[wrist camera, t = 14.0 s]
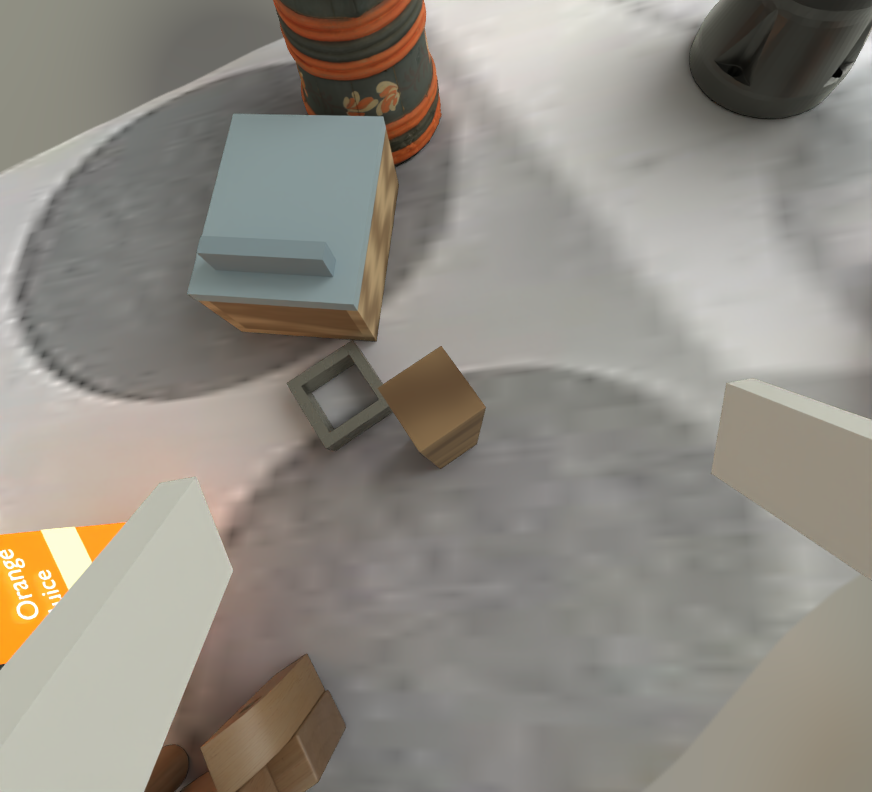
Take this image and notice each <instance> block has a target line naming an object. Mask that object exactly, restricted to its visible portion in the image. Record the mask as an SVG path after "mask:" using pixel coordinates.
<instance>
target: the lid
mask: <svg viewBox="0 0 872 792" xmlns="http://www.w3.org/2000/svg"><path fill="white" fill-rule="evenodd" d="M385 131H386V126H385V122H384V117H383V116H331V115H278V114H233V117H232V121H231V125H230V129H229V133H228V137H227V141H226V144H225V148H224V152H223V156H222V160H221V164H220V168H219V171H218V175H217V179H216V183H215V187H214V191H213V195H212V199H211V202H210V206H209V210H208V214H207V218H206V222H205V226H204V230H203V233H202V236H201V237H200V241H199V244H198V248H197V252H196V253H197V257H196V261H195V264H194V268H193V272H192V276H191V280H190V284H189V288H188V292H187V294H188V295H189V296H191V297H192V298H194V299H195V300H197V301H212V302H228V303H243V304H258V305H274V306H289V307H304V308H320V309H335V310H350V311H358V304H359V298H360V292H361V285H362V279H363V272H364V266H365V260H366V253H367V247H368V240H369V234H370V228H371V221H372V215H373V208H374V202H375V195H376V189H377V183H378V176H379V170H380V163H381V157H382V151H383V144H384V138H385Z"/></svg>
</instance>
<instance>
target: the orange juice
mask: <svg viewBox="0 0 872 792" xmlns="http://www.w3.org/2000/svg"><path fill="white" fill-rule="evenodd" d="M124 524H125V523H116V524H105V525H95V526H85V527H67V528H57V529H47V530H41V531H34V532H24V533H14V534H4V535H0V664H5V663H7V662H8V660H9V659H10V658H11V657H12V656H13V655H14V653H15V652H16V651H17V650H18V649H19V648H20V646H21V645H22V644H23V643H24V642H25V641H26V639H27V638H28V637H29V636H30V635H31V634H32V632H33V631H34V630H35V629H36V628H37V626H38V625H39V624H40V623H41V622H42V621H43V619H44V618H45V617H46V616H47V615H48V614H49V612H50V611H51V610H52V609H53V608H54V607H55V605H56V604H57V603H58V602H59V601H60V599H61V598H62V597H63V596H64V595H65V594H66V592H67V591H68V590H69V589H70V588H71V587H72V585H73V584H74V583H75V582H76V581H77V580H78V578H79V577H80V576H81V575H82V574H83V572H84V571H85V570H86V569H87V568H88V567H89V565H90V564H91V563H92V562H93V561H94V560H95V558H96V557H97V556H98V555H99V554H100V553H101V551H102V550H103V549H104V548H105V547H106V546H107V544H108V543H109V542H110V541H111V540H112V538H113V537H114V536H115V535H116V534H117V533H118V531H119V530H120V529H121V528H122V527H123V526H124Z"/></svg>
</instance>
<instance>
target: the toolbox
mask: <svg viewBox="0 0 872 792" xmlns="http://www.w3.org/2000/svg"><path fill="white" fill-rule="evenodd" d="M398 187H399V184H398V179H397V175H396V170H395V166H394V161H393V157H392V152H391V148H390V143H389V139H388V134H387V130H386V131H385V138H384V144H383V151H382V157H381V163H380V170H379V176H378V183H377V189H376V195H375V202H374V208H373V215H372V221H371V228H370V234H369V240H368V247H367V253H366V260H365V266H364V272H363V279H362V285H361V292H360V298H359V304H358V311H350V310H335V309H320V308H304V307H289V306H274V305H258V304H243V303H228V302H212V301H199V302H201V303H202V304H203V305H205V306H206V307H208V308H209V309H211V310H212V311H213V312H215V313H216V314H218V315H219V316H220V317H222V318H223V319H225V320H226V321H228V322H229V323H230V324H232V325H233V326H235V327H236V328H238V329H239V330H240V331H242V332H254V333H268V334H282V335H296V336H309V337H323V338H337V339H351V340H365V341H377V334H378V327H379V320H380V313H381V306H382V299H383V292H384V285H385V278H386V271H387V264H388V257H389V250H390V243H391V236H392V229H393V222H394V215H395V208H396V201H397V194H398Z"/></svg>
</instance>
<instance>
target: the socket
mask: <svg viewBox="0 0 872 792" xmlns="http://www.w3.org/2000/svg"><path fill="white" fill-rule="evenodd" d="M354 364H356V365H357V367H358V368H359V370H360V371H361V373H362V374H363V376H364V377H365V379H366V380H367V382H368V384H369V385H370V387H371V388H372V390H373V391H374V393H375V394H376V396H377V397H378V399H379V400H378V401H376V402H375V403H373V404H372V405H370V406H369V407H367V408H366V409H364V410H363V411H361V412H360V413H358V414H357V415H355V416H354V417H353V418H351V419H350V420H348V421H347V422H345V423H344V424H342V425H341V426H339V427H338V428H336V429H335V430H334V428H333V427H332V425H331V423H330V422H329V420H328V419H327V417H326V415H325V414H324V412H323V410H322V409H321V407H320V406H319V404H318V402H317V401H316V399H315V397H314V396H313V394H312V393H311V392H313V391H314V390H316V389H317V388H319V387H320V386H322V385H323V384H325V383H326V382H328V381H329V380H331V379H332V378H334V377H335V376H337V375H338V374H340V373H342V372H343V371H345V370H346V369H348V368H349V367H351V366H352V365H354ZM287 385H288V387H289V388H290V390H291V392H292V393H293V395H294V397H295V398H296V400H297V402H298V403H299V405H300V407H301V408H302V410H303V412H304V413H305V415H306V417H307V418H308V420H309V422H310V423H311V425H312V427H313V428H314V430H315V432H316V433H317V435H318V437H319V438H320V440H321V442H322V443H323V445H324V446H325V448H326V449H329V450H332V451H336V450H338V449H339V448H340V447H342V446H343V445H345V444H346V443H348V442H349V441H351V440H352V439H354V438H355V437H357V436H358V435H360V434H361V433H363V432H364V431H366V430H367V429H369V428H370V427H372V426H373V425H375V424H376V423H377V422H379V421H380V420H382V419H383V418H385V417H386V416H388V415H389V414H391V413H392V412H393V411H392V410H391V408H390V407H389V405H388V404H387V402H386V400H385V399H384V397H383V396H382V394H381V393H380V391H379V390H378V387H380V386H381V385H383V383H382V382H381V380H380V379H379V377H378V376H377V374H376V373H375V371H374V370H373V368H372V367H371V365H370V364H369V362H368V361H367V359H366V358H365V356H364V355H363V353H362V352H361V350H360V349H359V347H358V346H357V345H356V344H355V342H354V341H353V340H352V341H350V342H349V343H347V344H346V345H344V346H343V347H341V348H340V349H338V350H337V351H335V352H334V353H332V354H331V355H329V356H328V357H326V358H325V359H323V360H321V361H320V362H318V363H317V364H315V365H314V366H312V367H311V368H309V369H308V370H306V371H305V372H303V373H302V374H300V375H299V376H297V377H296V378H294V379H292V380H291V381H289V382H288V383H287Z"/></svg>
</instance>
